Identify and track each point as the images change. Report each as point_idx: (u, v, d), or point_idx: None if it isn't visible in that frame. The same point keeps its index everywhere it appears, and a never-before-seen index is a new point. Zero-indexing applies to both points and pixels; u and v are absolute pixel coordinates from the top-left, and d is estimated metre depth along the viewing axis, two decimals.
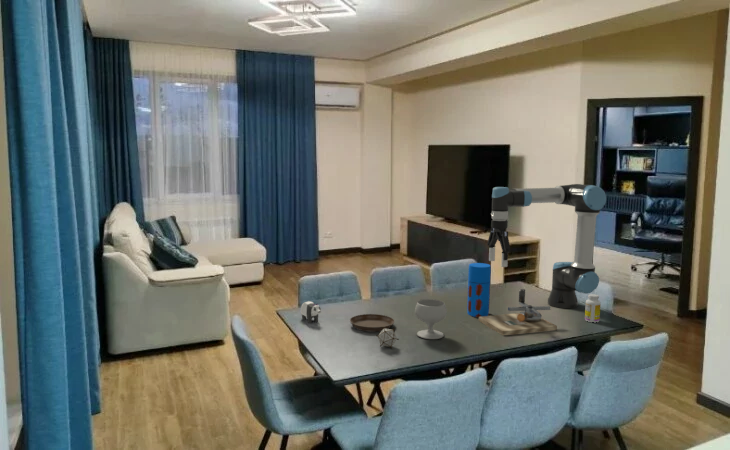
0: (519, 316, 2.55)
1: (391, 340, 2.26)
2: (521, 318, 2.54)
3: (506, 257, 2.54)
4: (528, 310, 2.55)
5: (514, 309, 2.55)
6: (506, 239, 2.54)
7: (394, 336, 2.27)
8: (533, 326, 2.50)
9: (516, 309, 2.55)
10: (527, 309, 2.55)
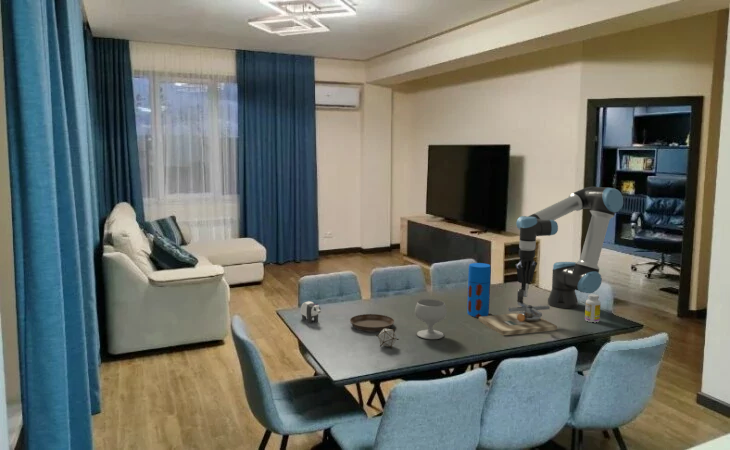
0: (519, 316, 2.55)
1: (391, 340, 2.26)
2: (521, 318, 2.54)
3: (522, 287, 2.65)
4: (528, 310, 2.55)
5: (515, 309, 2.54)
6: (518, 271, 2.62)
7: (394, 336, 2.27)
8: (533, 326, 2.50)
9: (517, 309, 2.55)
10: (527, 309, 2.55)
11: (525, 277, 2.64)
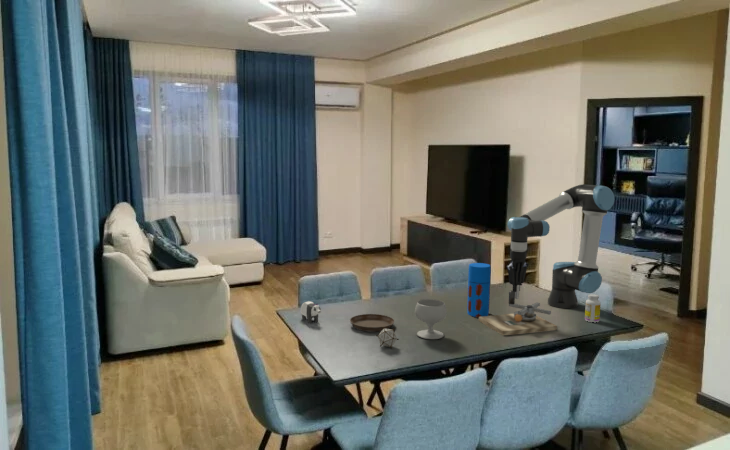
0: (516, 316, 2.54)
1: (391, 340, 2.26)
2: (518, 318, 2.54)
3: (513, 289, 2.63)
4: (531, 310, 2.55)
5: (523, 312, 2.51)
6: (510, 273, 2.60)
7: (394, 336, 2.27)
8: (533, 326, 2.50)
9: (524, 312, 2.51)
10: (531, 309, 2.55)
11: (517, 278, 2.61)
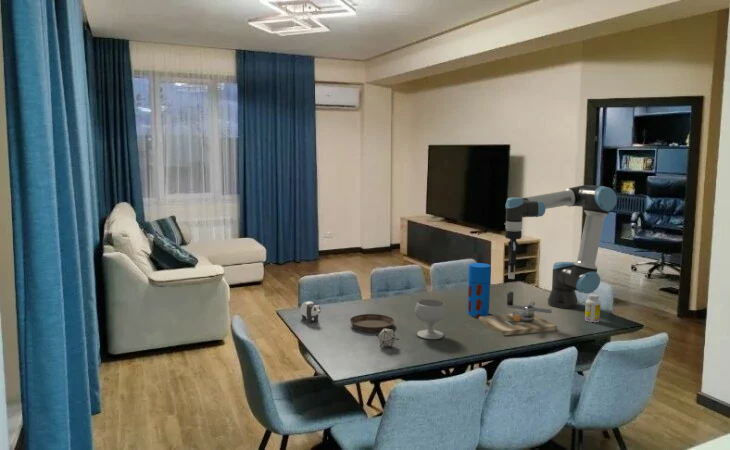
0: (515, 316, 2.54)
1: (391, 340, 2.26)
2: (517, 318, 2.54)
3: (512, 269, 2.62)
4: (532, 310, 2.55)
5: (528, 313, 2.50)
6: (514, 253, 2.58)
7: (394, 336, 2.27)
8: (533, 326, 2.50)
9: (528, 312, 2.51)
10: (532, 309, 2.55)
11: None
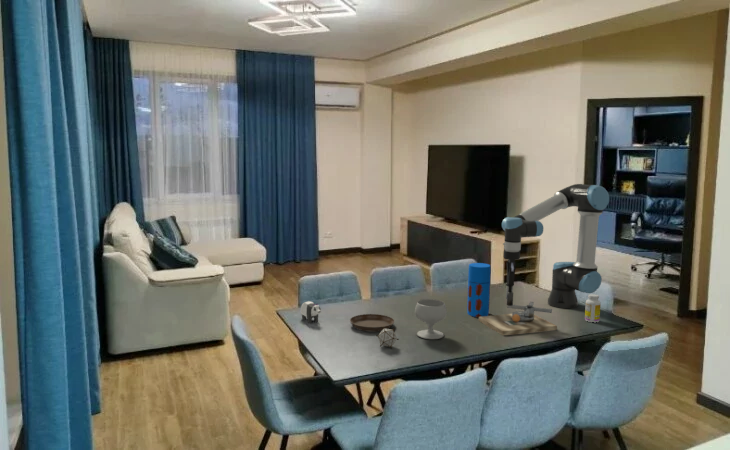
0: (514, 316, 2.54)
1: (391, 340, 2.26)
2: (516, 318, 2.54)
3: (510, 290, 2.61)
4: (533, 310, 2.55)
5: (529, 313, 2.50)
6: (512, 274, 2.56)
7: (394, 336, 2.27)
8: (533, 326, 2.50)
9: (529, 312, 2.50)
10: (532, 309, 2.55)
11: None
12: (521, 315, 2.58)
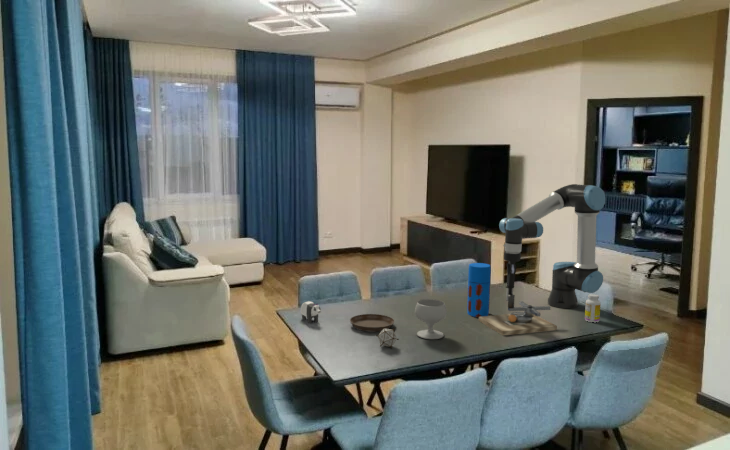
0: (510, 317, 2.54)
1: (391, 340, 2.26)
2: (512, 319, 2.53)
3: (510, 292, 2.56)
4: None
5: None
6: (512, 276, 2.52)
7: (394, 336, 2.27)
8: (533, 326, 2.50)
9: None
10: (533, 309, 2.55)
11: None
12: (522, 316, 2.57)
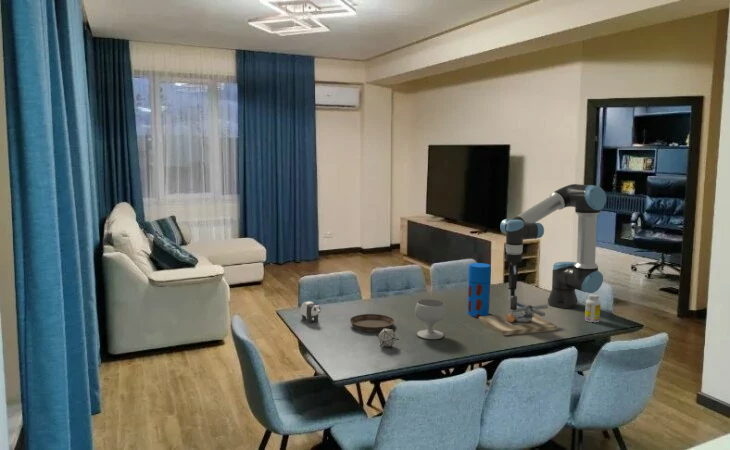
0: (509, 317, 2.53)
1: (391, 340, 2.26)
2: (511, 319, 2.53)
3: (513, 293, 2.56)
4: None
5: None
6: (514, 277, 2.52)
7: (394, 336, 2.27)
8: (533, 326, 2.50)
9: None
10: None
11: None
12: (523, 317, 2.56)
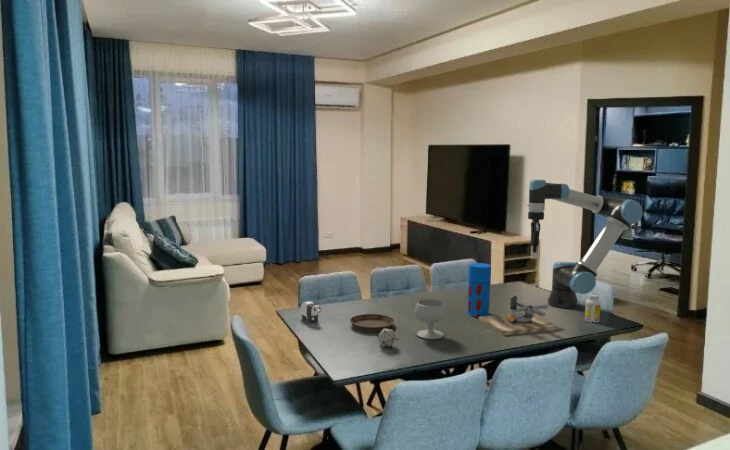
0: (509, 317, 2.53)
1: (391, 340, 2.26)
2: (511, 319, 2.53)
3: (535, 249, 2.70)
4: None
5: None
6: (537, 234, 2.66)
7: (394, 336, 2.27)
8: (533, 326, 2.50)
9: None
10: None
11: None
12: (523, 317, 2.56)
